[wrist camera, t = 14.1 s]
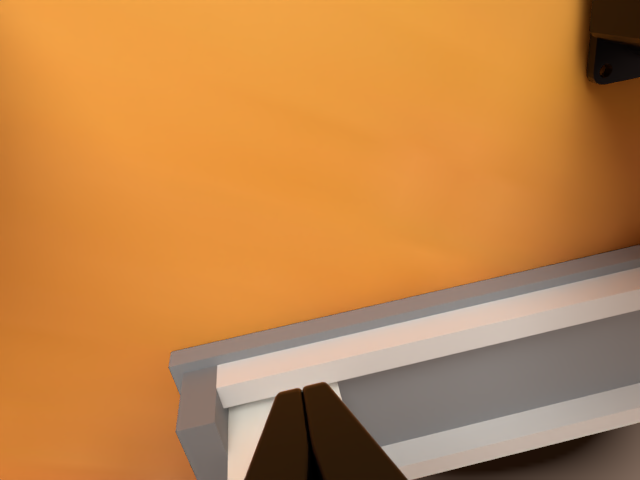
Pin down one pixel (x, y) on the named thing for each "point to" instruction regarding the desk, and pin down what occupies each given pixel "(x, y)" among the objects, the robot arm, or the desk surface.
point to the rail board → (443, 367)
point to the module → (248, 432)
